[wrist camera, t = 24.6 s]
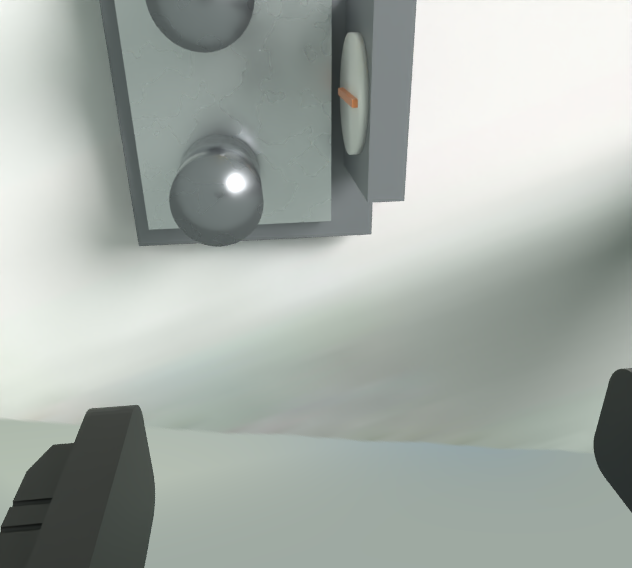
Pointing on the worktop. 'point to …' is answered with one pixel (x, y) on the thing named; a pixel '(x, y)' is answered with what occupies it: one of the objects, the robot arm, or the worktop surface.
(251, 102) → the scale
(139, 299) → the worktop surface
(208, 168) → the cylinder
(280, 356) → the worktop surface
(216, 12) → the cylinder
